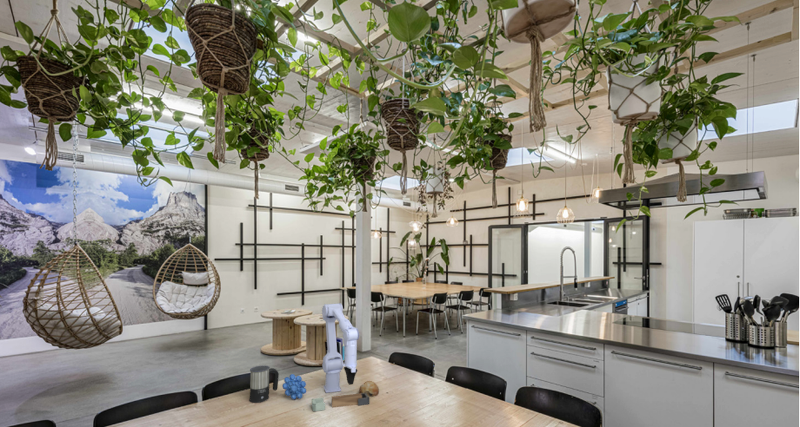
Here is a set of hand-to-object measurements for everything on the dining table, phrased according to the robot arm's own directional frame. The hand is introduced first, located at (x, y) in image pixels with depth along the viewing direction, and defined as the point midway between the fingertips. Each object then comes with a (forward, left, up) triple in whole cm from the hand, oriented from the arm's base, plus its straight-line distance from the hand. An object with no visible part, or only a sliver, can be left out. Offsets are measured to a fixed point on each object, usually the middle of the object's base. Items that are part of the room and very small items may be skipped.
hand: (350, 383), depth 178 cm
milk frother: (-24, -41, -10) cm, 49 cm away
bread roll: (-10, +12, -10) cm, 18 cm away
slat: (0, -2, -10) cm, 10 cm away
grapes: (-13, -25, -10) cm, 30 cm away
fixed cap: (0, +6, -9) cm, 11 cm away
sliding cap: (0, -15, -9) cm, 17 cm away
